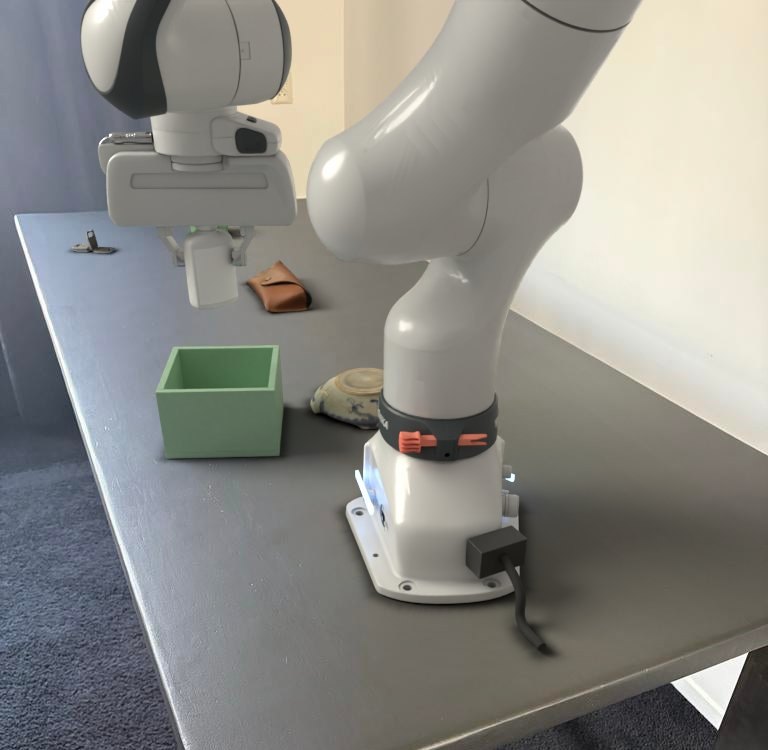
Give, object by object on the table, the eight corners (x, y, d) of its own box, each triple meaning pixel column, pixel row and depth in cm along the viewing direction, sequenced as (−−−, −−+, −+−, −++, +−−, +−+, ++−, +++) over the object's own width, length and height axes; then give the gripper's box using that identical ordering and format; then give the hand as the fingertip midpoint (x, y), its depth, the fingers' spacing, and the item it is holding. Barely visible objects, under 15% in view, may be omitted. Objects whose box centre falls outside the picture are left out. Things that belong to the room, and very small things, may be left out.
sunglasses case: (241, 280, 150) (257, 248, 148) (274, 295, 154) (289, 264, 152) (266, 312, 136) (283, 277, 134) (301, 327, 140) (318, 293, 138)
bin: (279, 456, 97) (274, 390, 92) (166, 458, 96) (155, 392, 91) (283, 406, 108) (279, 345, 103) (182, 408, 107) (173, 346, 102)
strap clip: (71, 251, 167) (66, 231, 164) (77, 247, 169) (73, 227, 167) (109, 254, 166) (105, 233, 163) (115, 249, 168) (111, 229, 166)
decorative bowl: (301, 387, 113) (323, 435, 101) (300, 363, 111) (322, 408, 99) (402, 377, 117) (435, 422, 104) (403, 354, 115) (436, 396, 102)
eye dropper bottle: (240, 308, 91) (230, 199, 85) (190, 311, 90) (176, 201, 84) (238, 296, 95) (227, 190, 88) (190, 299, 94) (176, 192, 87)
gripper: (86, 137, 79) (111, 274, 87) (292, 136, 80) (299, 272, 88) (101, 127, 84) (123, 258, 92) (294, 127, 86) (300, 256, 93)
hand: (211, 265), depth 90 cm, fingers closed on eye dropper bottle, 5 cm apart
